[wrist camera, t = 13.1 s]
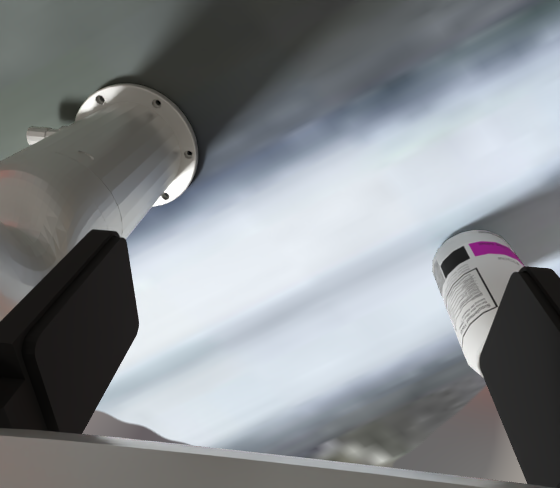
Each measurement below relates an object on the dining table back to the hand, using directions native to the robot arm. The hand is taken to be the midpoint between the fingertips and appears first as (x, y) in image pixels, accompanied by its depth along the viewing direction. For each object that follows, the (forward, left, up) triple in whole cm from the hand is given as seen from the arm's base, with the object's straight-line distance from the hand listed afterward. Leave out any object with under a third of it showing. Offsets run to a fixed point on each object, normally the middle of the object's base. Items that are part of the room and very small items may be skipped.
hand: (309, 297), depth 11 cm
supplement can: (+18, -18, -34) cm, 42 cm away
